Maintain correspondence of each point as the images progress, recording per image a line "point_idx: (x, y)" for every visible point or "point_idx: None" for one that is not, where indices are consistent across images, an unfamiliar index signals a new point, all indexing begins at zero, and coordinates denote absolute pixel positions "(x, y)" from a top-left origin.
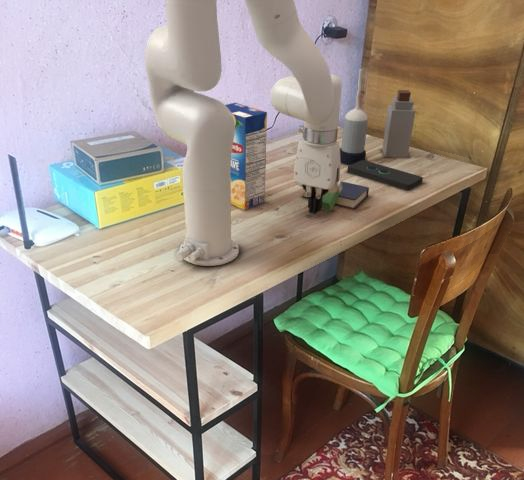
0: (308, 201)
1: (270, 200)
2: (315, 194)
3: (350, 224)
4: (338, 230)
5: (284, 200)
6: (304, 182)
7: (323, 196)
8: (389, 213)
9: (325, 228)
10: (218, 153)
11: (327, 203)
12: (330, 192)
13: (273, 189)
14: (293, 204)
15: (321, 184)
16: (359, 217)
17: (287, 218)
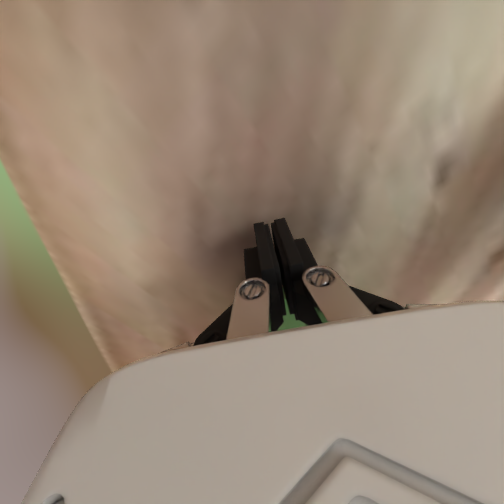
0: (310, 254)
1: (489, 224)
2: (295, 306)
3: (113, 263)
4: (85, 187)
5: (430, 258)
6: (415, 329)
7: (282, 328)
8: (119, 368)
9: (138, 160)
10: None
11: None
12: (175, 349)
13: (489, 293)
14: (386, 254)
15: (179, 391)
16: (145, 315)
17: (358, 117)
